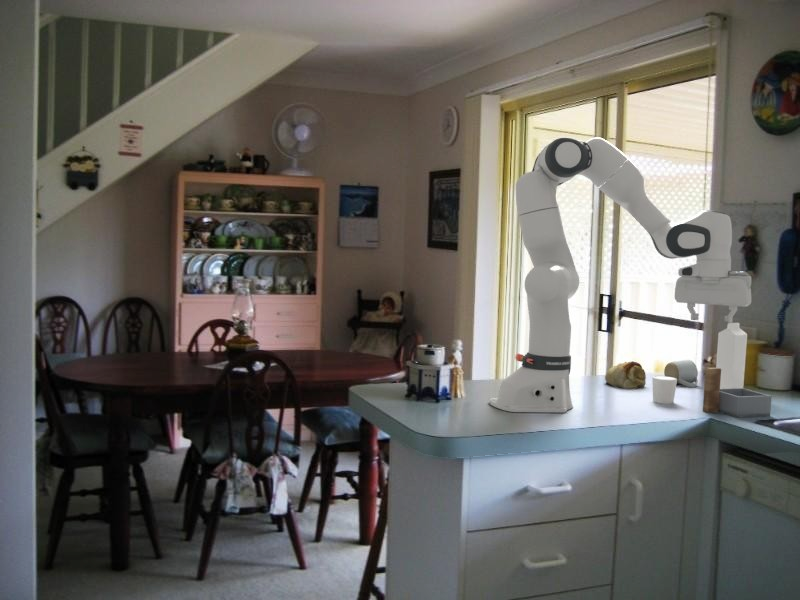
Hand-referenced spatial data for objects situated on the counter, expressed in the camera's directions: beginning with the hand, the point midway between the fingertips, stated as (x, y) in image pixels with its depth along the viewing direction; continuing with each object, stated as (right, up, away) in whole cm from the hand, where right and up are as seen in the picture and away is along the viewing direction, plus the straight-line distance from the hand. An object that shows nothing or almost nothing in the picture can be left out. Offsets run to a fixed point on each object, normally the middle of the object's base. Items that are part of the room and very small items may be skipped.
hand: (711, 321), depth 232 cm
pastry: (-13, -21, +38) cm, 45 cm away
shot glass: (-9, -24, +13) cm, 28 cm away
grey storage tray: (+8, -25, +2) cm, 26 cm away
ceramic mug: (+7, -22, +43) cm, 49 cm away
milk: (+15, -23, +27) cm, 39 cm away
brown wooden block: (0, -25, +1) cm, 25 cm away
